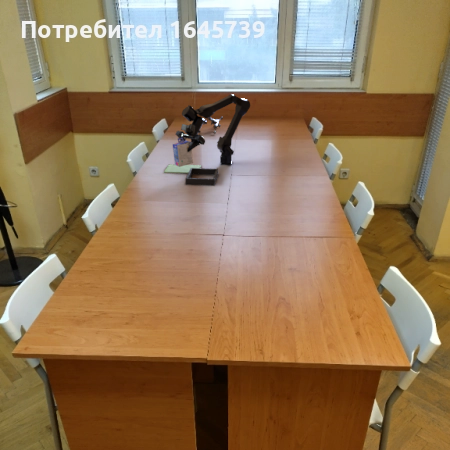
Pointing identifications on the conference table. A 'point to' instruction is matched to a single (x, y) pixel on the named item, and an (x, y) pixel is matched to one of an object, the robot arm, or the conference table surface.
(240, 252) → the conference table surface
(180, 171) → the mat
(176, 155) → the ink cartridge box
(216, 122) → the tablet mount
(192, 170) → the black square frame
